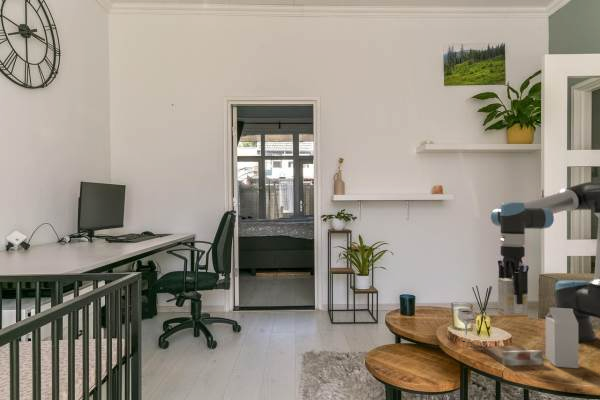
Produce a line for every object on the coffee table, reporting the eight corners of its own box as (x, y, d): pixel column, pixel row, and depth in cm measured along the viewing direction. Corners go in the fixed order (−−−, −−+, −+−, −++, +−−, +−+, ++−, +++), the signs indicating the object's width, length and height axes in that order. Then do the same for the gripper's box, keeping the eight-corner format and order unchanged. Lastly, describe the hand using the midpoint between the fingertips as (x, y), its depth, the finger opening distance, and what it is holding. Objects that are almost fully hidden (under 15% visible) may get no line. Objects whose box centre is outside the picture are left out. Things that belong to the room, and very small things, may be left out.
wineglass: (453, 339, 151) (453, 309, 152) (462, 336, 156) (462, 307, 156) (470, 344, 146) (470, 313, 146) (478, 340, 150) (478, 310, 150)
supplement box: (519, 313, 136) (519, 277, 136) (528, 317, 131) (528, 280, 131) (497, 313, 135) (497, 277, 136) (505, 317, 131) (505, 280, 131)
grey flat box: (518, 350, 140) (518, 338, 140) (543, 364, 128) (543, 351, 128) (483, 351, 139) (483, 339, 139) (504, 366, 126) (504, 352, 127)
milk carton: (578, 369, 125) (578, 311, 125) (554, 367, 126) (554, 310, 126) (567, 360, 132) (567, 306, 132) (545, 358, 133) (545, 305, 133)
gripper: (487, 243, 142) (487, 304, 142) (519, 248, 124) (519, 318, 124) (506, 242, 143) (506, 304, 143) (540, 248, 125) (540, 318, 125)
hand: (512, 310), depth 133 cm, fingers closed on supplement box, 5 cm apart
